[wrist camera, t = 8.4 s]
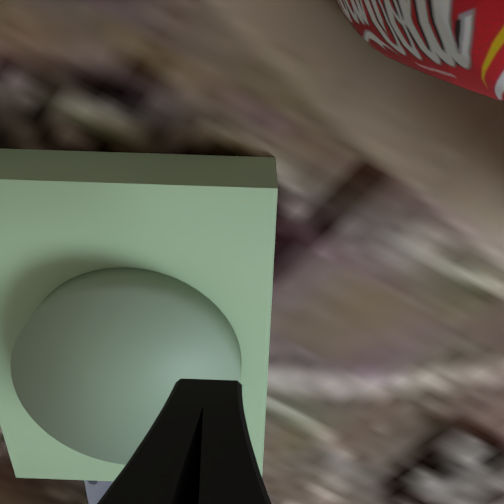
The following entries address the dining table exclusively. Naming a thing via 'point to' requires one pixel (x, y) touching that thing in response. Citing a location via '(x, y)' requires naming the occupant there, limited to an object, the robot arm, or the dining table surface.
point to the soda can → (438, 38)
